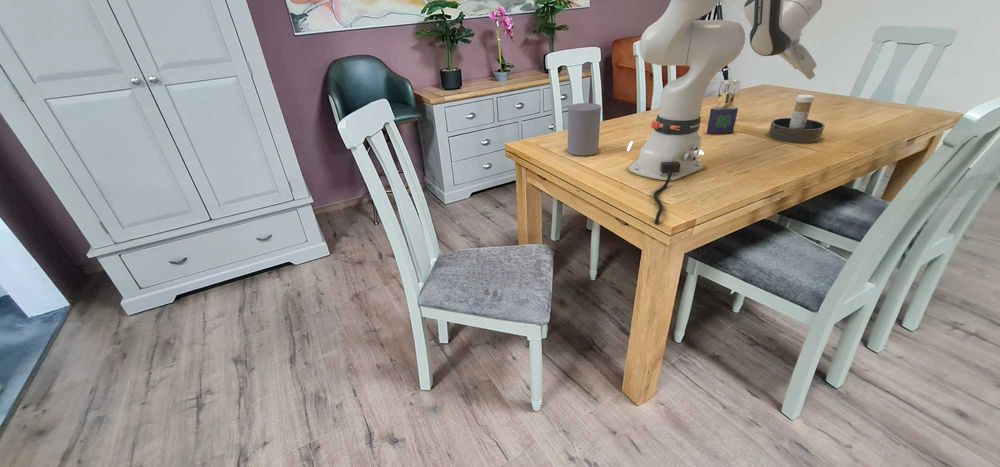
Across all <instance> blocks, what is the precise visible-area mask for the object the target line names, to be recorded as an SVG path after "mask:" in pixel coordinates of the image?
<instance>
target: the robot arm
mask: <svg viewBox="0 0 1000 467" xmlns="http://www.w3.org/2000/svg"><path fill="white" fill-rule="evenodd" d="M720 1H721V0H670V2H669V4H668V7H667V8H666V10H665V11H664V13H663V14H662V15H661V16H660V17H659V18H658V19H657V20H656V21H655V22H652V24H650V25H649V26H648V27H646V29H645V30H644V31H643V33H642V34H641V36H640V40H639V44H638V45H639V54H640V56H641V59H642V60H643V61H644V63H647V64H652V65H656V66H660V67H661V66H664V67H667V66H668V67H669V66H684V67H685V66H686V67H689V69H688V71H687V73H685V74H683V76H680V77H678V78H675V79H673V80H671V81H669V82H668V83H667V84H665V86H664V87H663V88H662V91H661V94H660V101H659V102H660V103H659V109H658V110H659V111H658V114H657V116H656V119H655V120H652V121H651V123H650V128H651V129H653V130H652V132H651V134H650V135H649V137H648V138H647V140H646V141H645V142H644V144H643V145H642V147H641V149H640V150H639V155H638V158H637V159H636V160H635V161H634V162H633V163H632V164H631V165H630V166H629V168H628V171H629V172H631V173H633V174H636V175H638V176H641V177H644V178H650V179H653V180H660V181H665V183H664V184H663V185H662V186H661V187H660V188H658V189H657V190H655V191H654V193H653V199H654V201H655V202H656V204H657V205H658V211H657V213H656V216H655V219H654V225H655V226H658V225H659V223H660V222H659V221H660V218H661V215H662V212H663V209H664V208H663V204H662V202H661V201H660V199H659V198H658V194H660V193H661V192H662V191H664V190H665V189H666V188H667V186H668V185H669V183H670V181H672V182H673V181H677V180H678V179H681V178H683V177H685V176H688V175H691V174H694V173H695V172H698V171H701V170H703V169H704V164H703V163H702V162H700V158H701V155H702V156H703V155H704V152H703V151H702V142H703V141H702V137H700V134H699V130H700V126H701V121H702V120H701V118H702V117H701V116H700V115H701V110H702V105H703V103H704V102H703V101H704V98H705V94H706V92H707V89H708V87H709V85H710V83H711V81H712V80H713V78H714V77H715V76H716V75H717V74H718V73H719V72H720V71H721V70H722V69H723V68H725V67H726V66H728V65H729V64H731V63H733V62H734V61H735V60H736V59H737V58H738V57H739V56H740V54H741V53H742V51H743V49H744V47H745V43H746V33H745V29H744V27H743V25H742V24H741V23H740V22H737V21H731V20H727V19H726V20H725V19H703V20H701V19H700V20H698V19H699V18H701V17H703V16H706V15H708V14H709V13H710V12H711V11H713V10H714V9H715V8H716V6H717V5H719V3H720ZM822 5H823V1H822V0H746V2H745V3H744V5H743V13H744V15H745V18H746V19H747V21H748V23H749V24H750V26H751V30H750V33H749V44H750V47H751V49H752V50H753V52H755V53H756V54H757V55H759V56H761V57H773V56H777V55H778V57H781V58H782V59H783V60H784V61H785V62H787V63H788V64H790V65H791V66H792V67H793V68H794V69H795V70H798V71H799V72H800V73H802V74H803V75H804V77H806V79H808V80H812V79H813V78H815V76H816V74H815V72H814V69H815V68H816V67H818V66H817V62H816V61H815V59H814V58H813V56H812V54H810V52H809V51H808V49H807V48H806V47H805V46H804V45H803V44H801V43H800V41H801V37H802V34H803V29H804V28H805V27H806V26H807V25H808V24H809V23H810V21H812V19H813V18H814V17H815V16H816V15H817V14H818V12H819V11H820V10H821V9H822ZM632 145H633V141H632V140H631V141H630V143H629V144H628V146H627V150H626V151H627V152H629V151H630V149H631V147H632Z"/></svg>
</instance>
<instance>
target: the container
mask: <svg viewBox="0 0 1000 467" xmlns="http://www.w3.org/2000/svg"><path fill="white" fill-rule="evenodd" d="M601 112H602V106H601V105H600V104H598V103H593V102H580V103H574V104H570V105H569V106H568V112H567V114H568V116H567V150H566V151H567V153H568V154H570V155H573V156H575V157H589V156H594V155H596V154H597V153H599V145H600V144H599V143H600V142H599V141H600V130H601V129H600V127H601Z"/></svg>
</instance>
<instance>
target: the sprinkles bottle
mask: <svg viewBox="0 0 1000 467" xmlns="http://www.w3.org/2000/svg"><path fill="white" fill-rule="evenodd" d="M814 99H815V96H814V95H813V94H806V93H803V94H802V93H801V94H798V95H797V96H796V100H795V106H794V109H793V112H792V116H791V117H790V118H791V121H790V126H789V128H792V129H804V127H805V124H806V121H807V119H808V118H809V115H810V110H811V106H812V104H813V102H814Z"/></svg>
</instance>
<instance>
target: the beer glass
mask: <svg viewBox="0 0 1000 467" xmlns="http://www.w3.org/2000/svg"><path fill="white" fill-rule="evenodd" d="M741 83H742V82H741V80H738V79H723V80H720V85H719V87H718V92H717V103H716V104H717V105H716V107H719V108H721V107H722V106H724V105H725V103H728V104H729V105H728V106H729V107H736V103H737V100H738V97H739V94H740V89H741Z"/></svg>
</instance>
